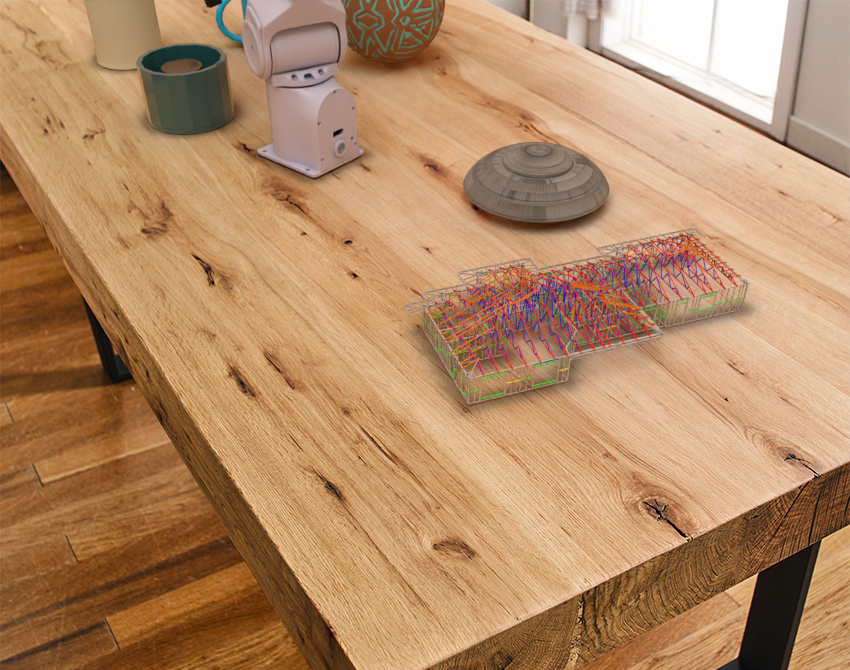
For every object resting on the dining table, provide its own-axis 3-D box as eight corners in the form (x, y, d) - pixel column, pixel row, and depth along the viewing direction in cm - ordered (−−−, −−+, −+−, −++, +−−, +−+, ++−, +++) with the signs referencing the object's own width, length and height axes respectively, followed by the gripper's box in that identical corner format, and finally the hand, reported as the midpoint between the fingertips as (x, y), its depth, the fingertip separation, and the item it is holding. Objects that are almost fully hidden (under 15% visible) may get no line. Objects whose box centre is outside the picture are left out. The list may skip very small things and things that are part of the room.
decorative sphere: (425, 86, 119) (423, -40, 109) (317, 74, 122) (306, -50, 112) (458, 46, 129) (459, -72, 119) (358, 36, 133) (351, -80, 123)
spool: (214, 115, 111) (207, 69, 107) (175, 123, 110) (166, 76, 106) (203, 101, 114) (196, 56, 111) (165, 108, 113) (156, 62, 109)
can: (97, 73, 123) (74, -23, 115) (96, 49, 130) (74, -43, 122) (168, 66, 125) (149, -30, 117) (163, 42, 131) (146, -49, 123)
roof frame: (687, 245, 89) (697, 195, 85) (783, 332, 78) (799, 279, 75) (391, 306, 82) (389, 255, 78) (452, 412, 71) (453, 358, 67)
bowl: (251, 114, 113) (243, 56, 108) (184, 142, 107) (173, 82, 102) (198, 93, 118) (188, 36, 113) (132, 118, 112) (118, 60, 107)
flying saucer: (615, 174, 100) (622, 125, 96) (597, 243, 89) (604, 191, 86) (480, 158, 103) (482, 110, 99) (446, 224, 92) (447, 173, 89)
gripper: (146, -120, 101) (170, 9, 110) (248, -105, 95) (264, 31, 104) (190, -132, 106) (210, -7, 115) (290, -118, 100) (302, 13, 109)
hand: (238, 10), depth 110 cm, fingers open, 7 cm apart
